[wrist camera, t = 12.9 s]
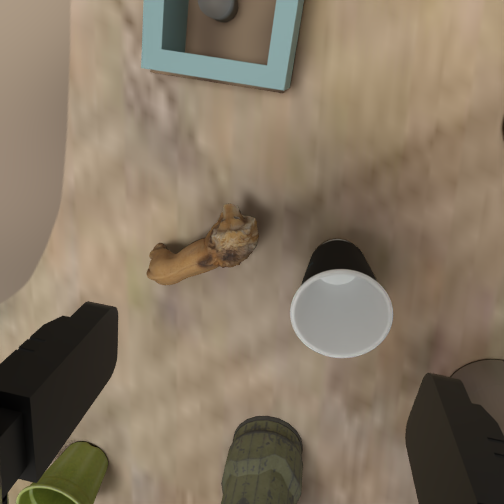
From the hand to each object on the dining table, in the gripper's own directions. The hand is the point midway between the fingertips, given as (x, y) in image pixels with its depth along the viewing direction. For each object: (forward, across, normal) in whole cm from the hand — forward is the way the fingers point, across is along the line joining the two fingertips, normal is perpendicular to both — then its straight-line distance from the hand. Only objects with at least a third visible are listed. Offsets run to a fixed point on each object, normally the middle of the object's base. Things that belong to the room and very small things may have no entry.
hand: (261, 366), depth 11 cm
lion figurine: (+32, +8, +10) cm, 35 cm away
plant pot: (+32, +22, +46) cm, 60 cm away
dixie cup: (+32, -5, +10) cm, 34 cm away
